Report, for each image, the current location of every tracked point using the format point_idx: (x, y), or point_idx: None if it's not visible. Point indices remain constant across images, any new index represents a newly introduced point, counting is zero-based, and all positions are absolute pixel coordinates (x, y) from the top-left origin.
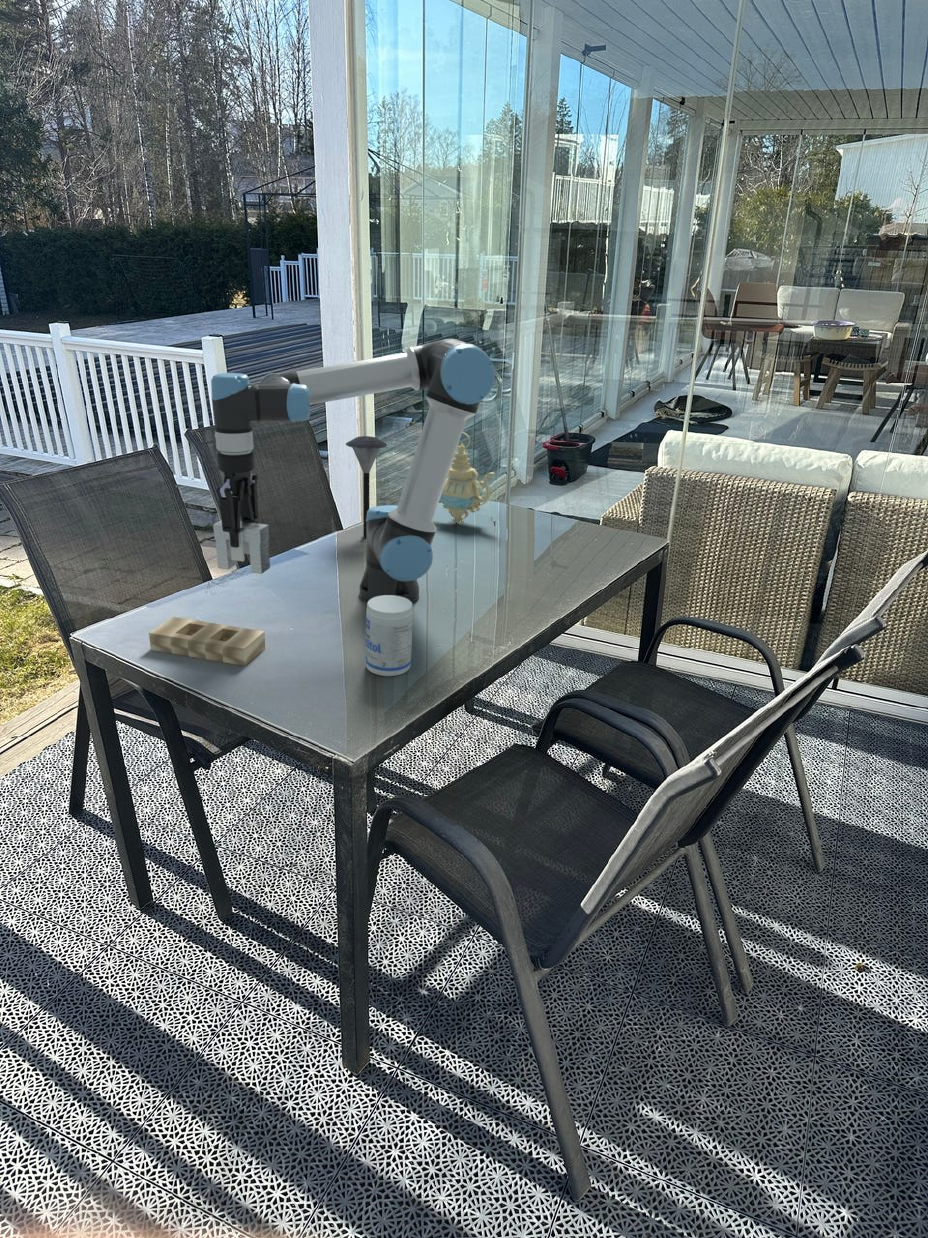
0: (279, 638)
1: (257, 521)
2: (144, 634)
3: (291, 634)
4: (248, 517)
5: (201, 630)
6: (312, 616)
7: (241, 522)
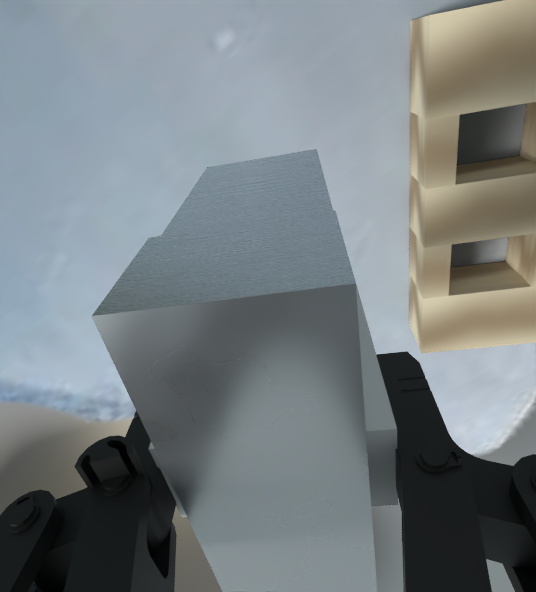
0: (315, 27)
1: (82, 461)
2: (439, 370)
3: (264, 6)
4: (147, 552)
5: (491, 232)
6: (92, 37)
7: (218, 532)
